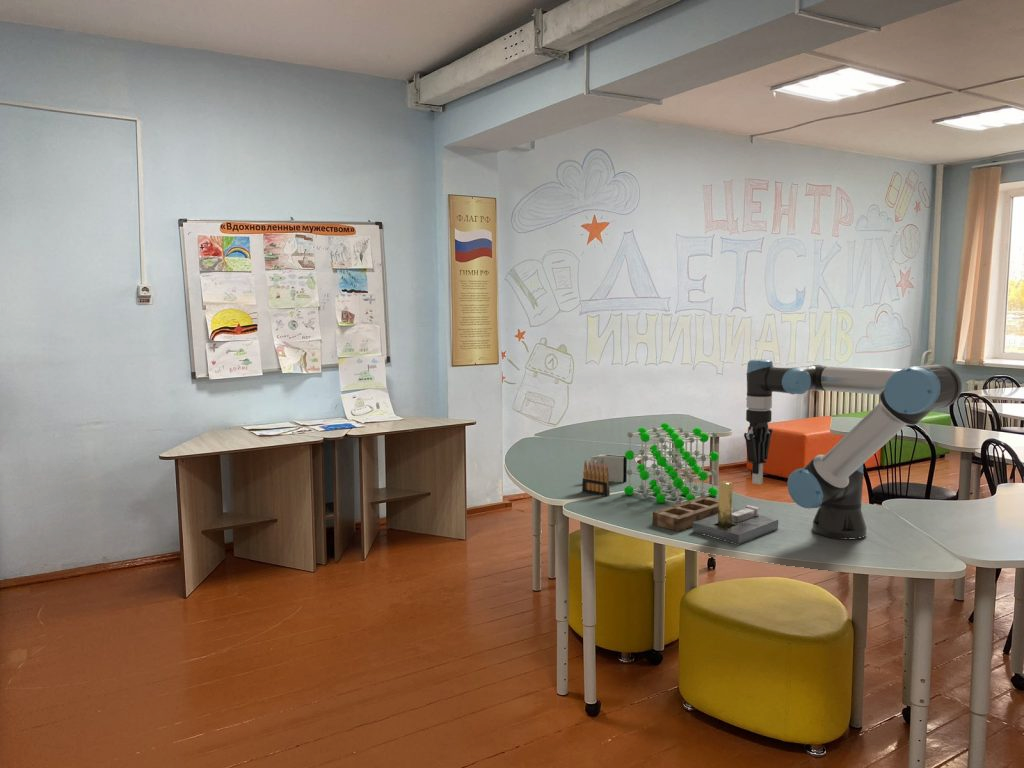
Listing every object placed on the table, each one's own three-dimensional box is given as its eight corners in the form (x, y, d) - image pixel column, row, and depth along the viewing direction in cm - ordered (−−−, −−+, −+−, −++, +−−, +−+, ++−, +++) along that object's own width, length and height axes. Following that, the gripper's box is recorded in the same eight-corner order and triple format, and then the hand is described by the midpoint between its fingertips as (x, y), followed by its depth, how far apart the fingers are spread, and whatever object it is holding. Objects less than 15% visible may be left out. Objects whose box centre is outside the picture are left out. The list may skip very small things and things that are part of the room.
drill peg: (733, 534, 229) (735, 483, 227) (726, 537, 226) (728, 485, 224) (722, 531, 232) (723, 480, 230) (714, 534, 229) (716, 483, 227)
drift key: (759, 515, 237) (759, 507, 237) (739, 523, 230) (739, 515, 230) (748, 512, 240) (748, 505, 240) (727, 520, 233) (727, 512, 233)
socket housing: (777, 529, 234) (778, 519, 234) (738, 544, 219) (738, 534, 219) (732, 517, 246) (732, 508, 245) (692, 531, 231) (692, 522, 231)
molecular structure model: (679, 509, 256) (680, 439, 253) (622, 495, 274) (622, 429, 271) (719, 496, 271) (721, 430, 269) (663, 483, 290) (664, 421, 287)
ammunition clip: (581, 492, 278) (582, 460, 277) (584, 490, 280) (584, 459, 278) (607, 496, 272) (607, 464, 271) (609, 495, 273) (610, 463, 272)
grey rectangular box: (590, 482, 293) (590, 456, 291) (590, 479, 298) (590, 454, 297) (626, 483, 291) (627, 457, 290) (626, 479, 296) (626, 454, 295)
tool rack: (729, 513, 250) (730, 502, 250) (678, 531, 232) (678, 519, 231) (704, 507, 257) (704, 496, 257) (652, 524, 239) (652, 512, 239)
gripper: (759, 405, 242) (757, 477, 245) (736, 410, 234) (735, 484, 236) (780, 408, 237) (779, 481, 239) (758, 412, 228) (756, 488, 231)
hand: (757, 483), depth 238 cm, fingers closed
